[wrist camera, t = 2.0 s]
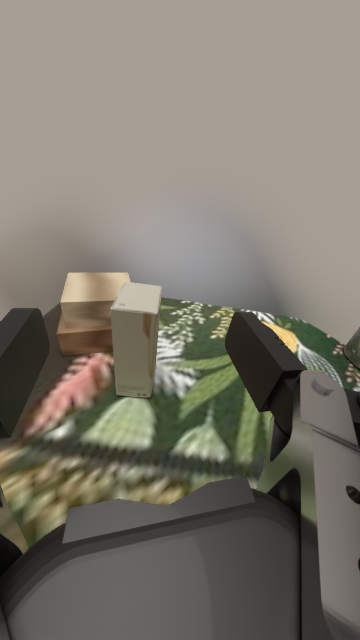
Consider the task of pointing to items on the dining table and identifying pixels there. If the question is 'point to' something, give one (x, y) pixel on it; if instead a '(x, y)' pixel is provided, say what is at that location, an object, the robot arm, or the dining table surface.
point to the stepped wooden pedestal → (88, 312)
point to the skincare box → (135, 338)
